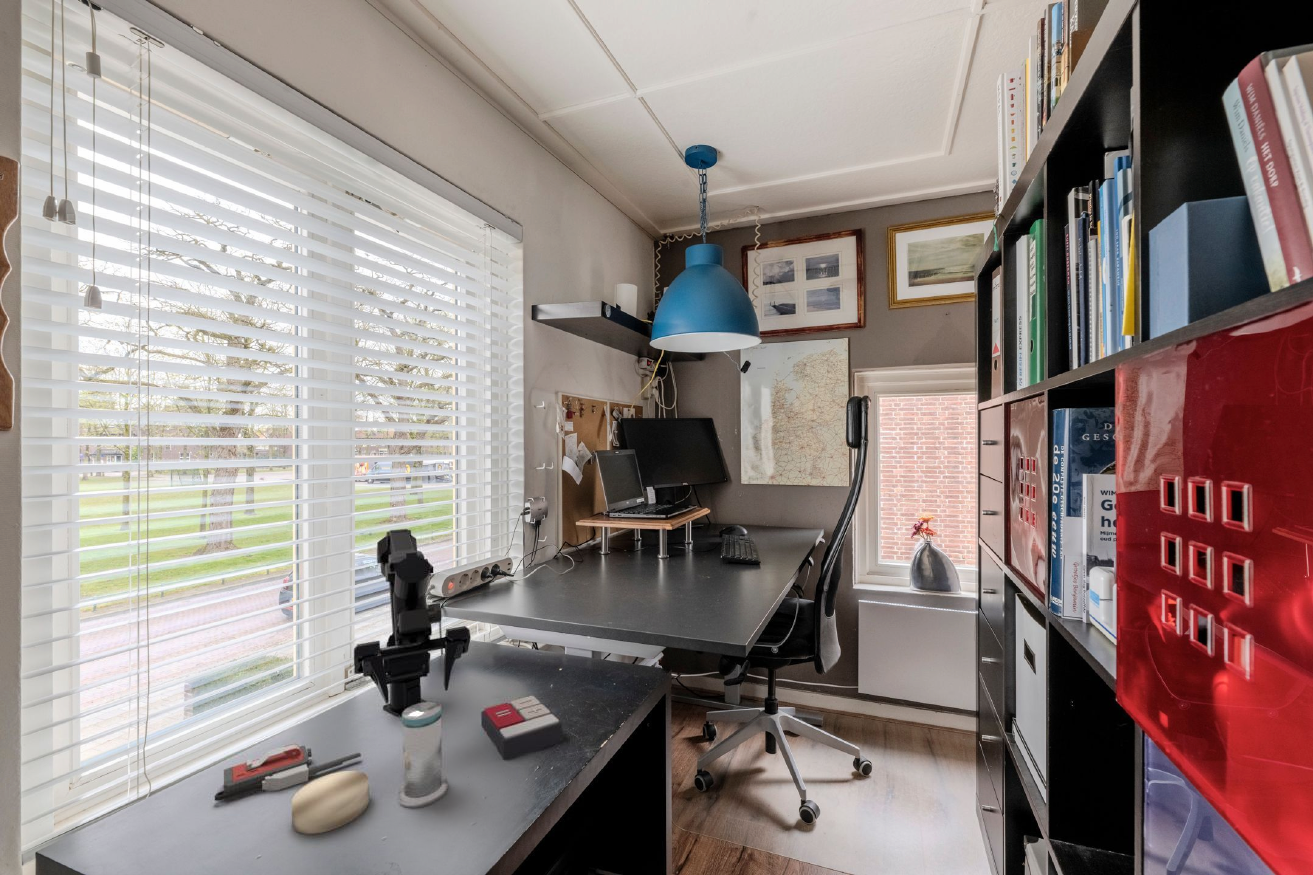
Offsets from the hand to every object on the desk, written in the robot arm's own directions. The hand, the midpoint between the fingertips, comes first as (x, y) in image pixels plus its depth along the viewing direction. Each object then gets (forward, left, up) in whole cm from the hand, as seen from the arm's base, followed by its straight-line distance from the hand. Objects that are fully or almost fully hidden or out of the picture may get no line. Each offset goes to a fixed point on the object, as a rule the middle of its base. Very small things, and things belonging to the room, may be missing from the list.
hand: (417, 695), depth 93 cm
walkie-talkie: (-18, -12, -13) cm, 25 cm away
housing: (+6, -3, -13) cm, 14 cm away
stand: (-2, -13, -13) cm, 18 cm away
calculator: (+5, +18, -13) cm, 23 cm away
